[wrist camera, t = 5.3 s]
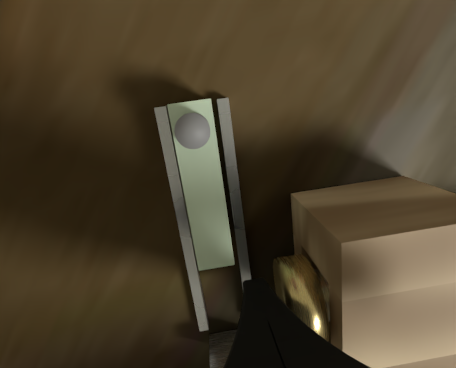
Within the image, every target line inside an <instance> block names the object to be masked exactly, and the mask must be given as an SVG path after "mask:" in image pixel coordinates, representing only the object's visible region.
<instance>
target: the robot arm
mask: <svg viewBox="0 0 456 368" xmlns="http://www.w3.org/2000/svg"><path fill="white" fill-rule="evenodd" d="M242 284H243V302H242V308H241V314H240V319H239V323H238V327H237V331H236V335H235V338H234V341H233V344H232V347H231V350H230V353H229V355H228V358H227V360H226V363H225V365H224V368H371V367H369V366H367V365H365V364H363V363H361V362H360V361H358V360H356V359H354V358H353V357H351V356H349V355H347V354H346V353H344V352H343V351H341V350H340V349H338V348H337V347H335V346H334V345H332V344H331V343H329V342H328V341H327V340H325V339H324V338H323V337H321V336H320V335H319V334H317V333H316V332H315V331H314V330H312V329H311V328H310V327H309V326H307V325H306V324H305V323H304V322H303V321H302V320H301V319H300V318H299V317H298V316H296V315H295V314H294V313H293V312H292V311H291V310H290V309H289V308H288V307H287V306H286V304H285V303H284V302H283V301H282V300H281V299H280V298H279V297H278V296H277V295H276V293H275V292H274V291H273V290H272V288H271V287H270V286H269V285H268V283H267V282H266V280H265V279H264V278H256V279H250V280H245V281H244V282H243V283H242Z"/></svg>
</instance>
